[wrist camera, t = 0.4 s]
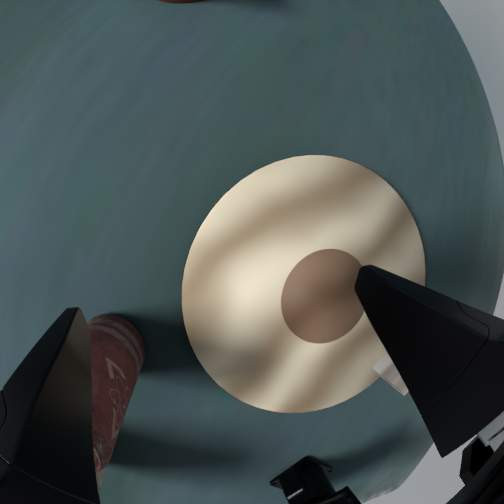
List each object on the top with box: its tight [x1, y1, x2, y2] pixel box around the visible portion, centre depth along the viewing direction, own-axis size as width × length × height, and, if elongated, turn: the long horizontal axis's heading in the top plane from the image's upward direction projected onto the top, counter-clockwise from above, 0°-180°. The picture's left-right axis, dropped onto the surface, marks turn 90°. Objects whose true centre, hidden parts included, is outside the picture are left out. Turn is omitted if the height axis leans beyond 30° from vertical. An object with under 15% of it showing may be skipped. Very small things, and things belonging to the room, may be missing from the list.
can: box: [87, 314, 146, 475], centre depth 15 cm, size 6×6×14 cm
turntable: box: [182, 155, 425, 413], centre depth 21 cm, size 24×23×5 cm
